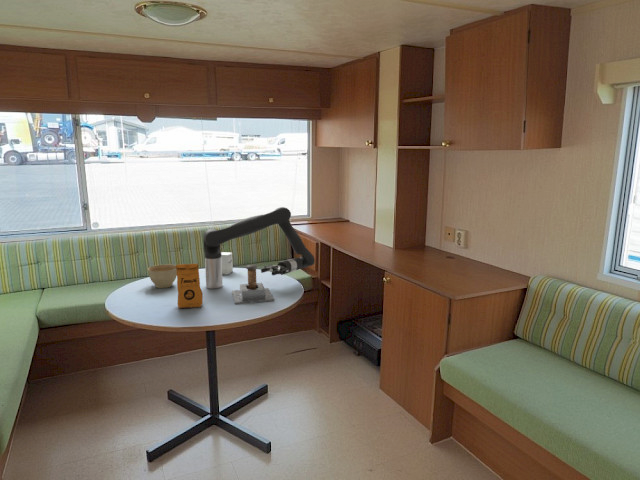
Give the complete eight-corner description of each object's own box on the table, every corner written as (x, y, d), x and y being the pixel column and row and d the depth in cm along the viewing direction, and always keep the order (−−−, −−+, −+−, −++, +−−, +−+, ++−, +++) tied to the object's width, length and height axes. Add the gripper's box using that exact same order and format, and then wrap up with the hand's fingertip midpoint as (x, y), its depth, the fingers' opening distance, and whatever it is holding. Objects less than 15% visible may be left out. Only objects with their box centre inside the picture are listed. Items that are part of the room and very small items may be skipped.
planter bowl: (177, 289, 257) (176, 270, 254) (147, 291, 253) (146, 272, 251) (179, 281, 272) (178, 263, 270) (150, 282, 268) (149, 264, 266)
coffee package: (202, 308, 225) (200, 265, 221) (176, 310, 223) (173, 266, 219) (204, 302, 235) (202, 260, 231) (179, 303, 233) (176, 261, 229)
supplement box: (228, 274, 286) (228, 255, 284) (217, 273, 288) (216, 254, 285) (233, 271, 293) (232, 252, 291) (222, 270, 295) (221, 251, 292)
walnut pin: (248, 296, 241) (246, 267, 237) (246, 293, 246) (245, 264, 243) (258, 295, 242) (257, 266, 239) (257, 292, 247) (256, 264, 244)
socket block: (235, 304, 232) (234, 294, 231) (232, 292, 251) (231, 282, 250) (274, 301, 237) (273, 291, 236) (268, 289, 256) (268, 280, 255)
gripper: (278, 258, 266) (257, 263, 253) (296, 262, 257) (275, 267, 245) (278, 270, 267) (258, 276, 255) (296, 274, 258) (276, 281, 246)
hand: (266, 272), depth 250 cm, fingers open, 8 cm apart
